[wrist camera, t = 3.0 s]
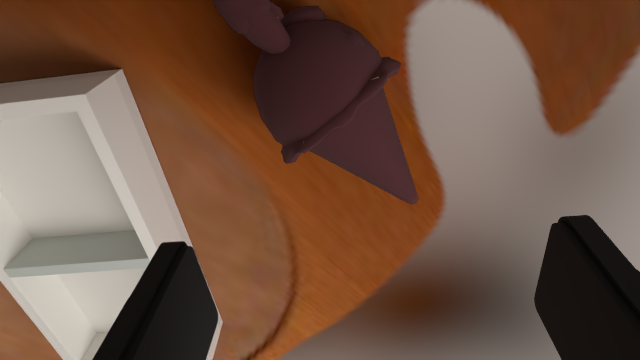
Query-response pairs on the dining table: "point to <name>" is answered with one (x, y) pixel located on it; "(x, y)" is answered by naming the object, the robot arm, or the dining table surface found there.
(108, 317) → the white divided tray
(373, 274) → the dining table surface
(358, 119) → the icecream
